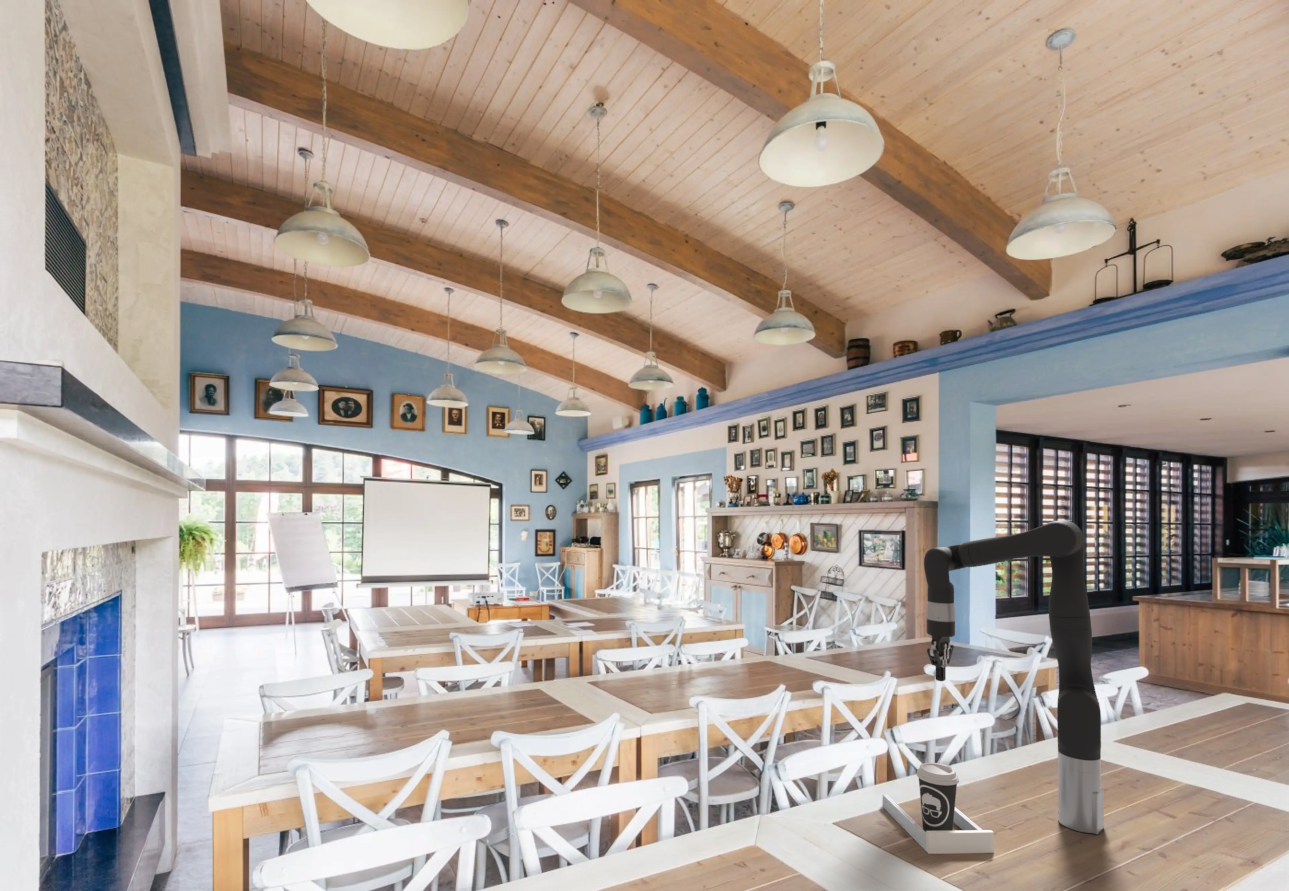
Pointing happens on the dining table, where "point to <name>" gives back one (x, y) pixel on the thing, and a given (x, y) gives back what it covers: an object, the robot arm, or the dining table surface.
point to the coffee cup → (937, 796)
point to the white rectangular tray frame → (944, 833)
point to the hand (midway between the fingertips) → (940, 680)
